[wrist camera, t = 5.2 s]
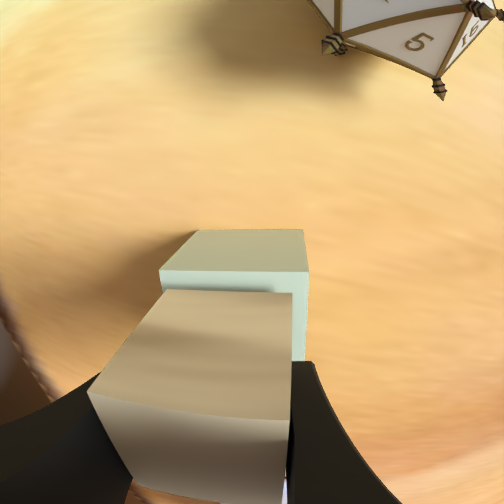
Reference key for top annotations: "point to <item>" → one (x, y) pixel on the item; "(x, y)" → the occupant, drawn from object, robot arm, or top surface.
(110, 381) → the birch block
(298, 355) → the base block
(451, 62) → the game die
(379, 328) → the top surface
